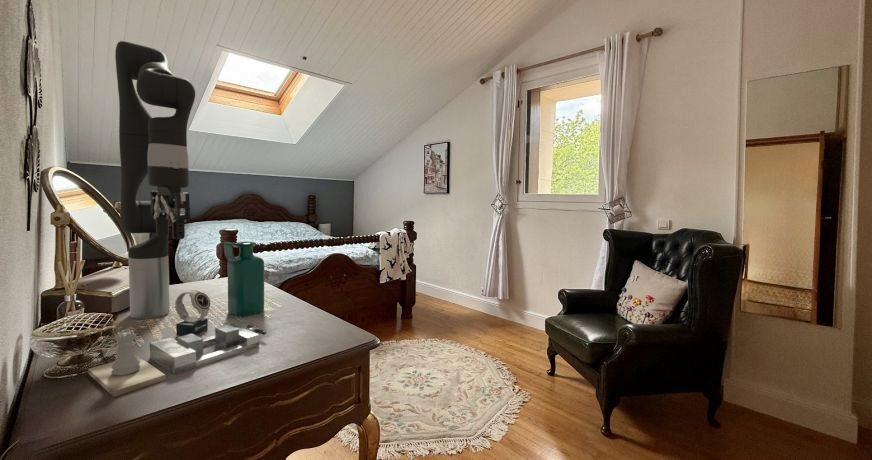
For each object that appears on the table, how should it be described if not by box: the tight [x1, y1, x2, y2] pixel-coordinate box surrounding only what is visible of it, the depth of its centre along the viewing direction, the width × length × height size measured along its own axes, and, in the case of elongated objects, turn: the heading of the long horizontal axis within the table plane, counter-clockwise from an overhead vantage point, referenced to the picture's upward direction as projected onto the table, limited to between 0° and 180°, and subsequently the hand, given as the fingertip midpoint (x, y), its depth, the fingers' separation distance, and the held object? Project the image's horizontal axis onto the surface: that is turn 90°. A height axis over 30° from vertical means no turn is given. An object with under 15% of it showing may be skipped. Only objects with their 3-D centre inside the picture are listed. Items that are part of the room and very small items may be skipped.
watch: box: [174, 289, 211, 337], centre depth 97 cm, size 6×8×11 cm
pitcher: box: [222, 241, 265, 318], centre depth 114 cm, size 10×8×22 cm
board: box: [87, 355, 166, 398], centre depth 74 cm, size 14×8×1 cm, turn 57°
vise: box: [149, 323, 267, 375], centre depth 87 cm, size 12×21×4 cm, turn 147°
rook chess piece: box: [111, 329, 140, 376], centre depth 73 cm, size 4×4×8 cm
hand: (170, 237), depth 86 cm, fingers open, 8 cm apart
